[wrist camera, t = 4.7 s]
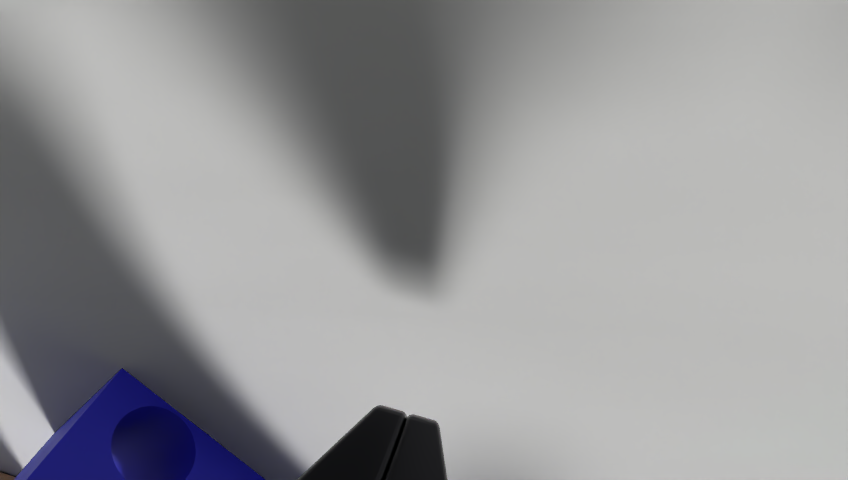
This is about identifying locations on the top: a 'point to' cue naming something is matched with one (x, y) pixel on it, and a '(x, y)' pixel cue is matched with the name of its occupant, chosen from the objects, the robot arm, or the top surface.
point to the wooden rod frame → (6, 477)
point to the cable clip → (132, 442)
